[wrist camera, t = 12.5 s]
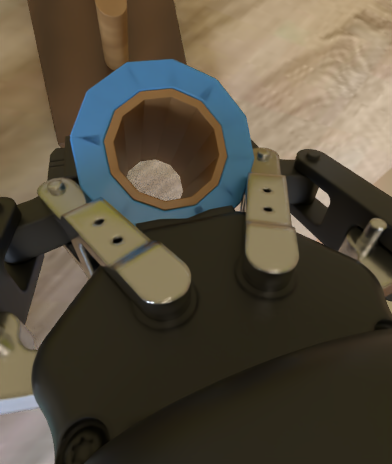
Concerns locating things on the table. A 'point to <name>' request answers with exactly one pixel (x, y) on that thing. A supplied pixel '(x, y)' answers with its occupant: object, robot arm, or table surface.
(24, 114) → the table surface
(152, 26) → the tape rack
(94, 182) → the tape roll
